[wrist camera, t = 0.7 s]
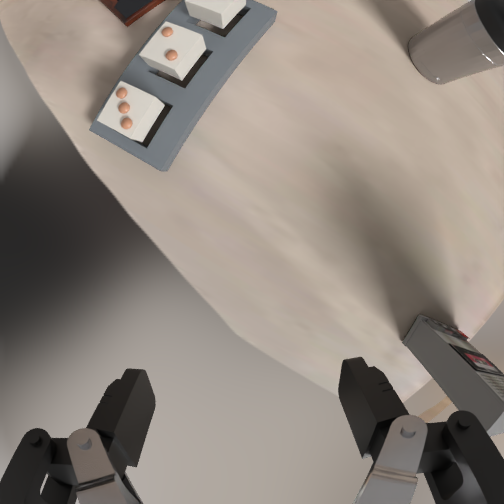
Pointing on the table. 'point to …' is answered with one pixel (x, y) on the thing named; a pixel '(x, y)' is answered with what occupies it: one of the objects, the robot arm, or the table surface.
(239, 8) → the tile one
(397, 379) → the table surface
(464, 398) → the tall grey labeled box
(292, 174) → the table surface
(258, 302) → the table surface
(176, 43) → the tile two
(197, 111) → the board
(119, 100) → the tile three
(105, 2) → the picture frame
